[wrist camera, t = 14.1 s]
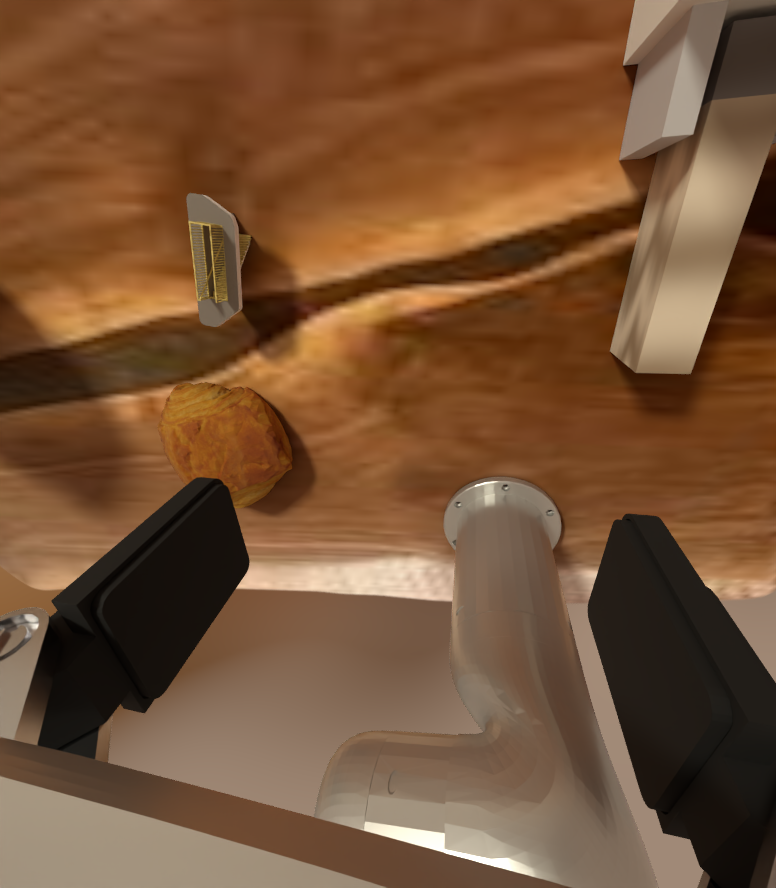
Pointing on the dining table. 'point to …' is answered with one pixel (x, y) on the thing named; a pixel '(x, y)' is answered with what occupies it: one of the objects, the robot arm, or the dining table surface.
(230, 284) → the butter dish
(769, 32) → the rail
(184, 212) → the dining table surface
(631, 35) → the post
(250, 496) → the croissant
